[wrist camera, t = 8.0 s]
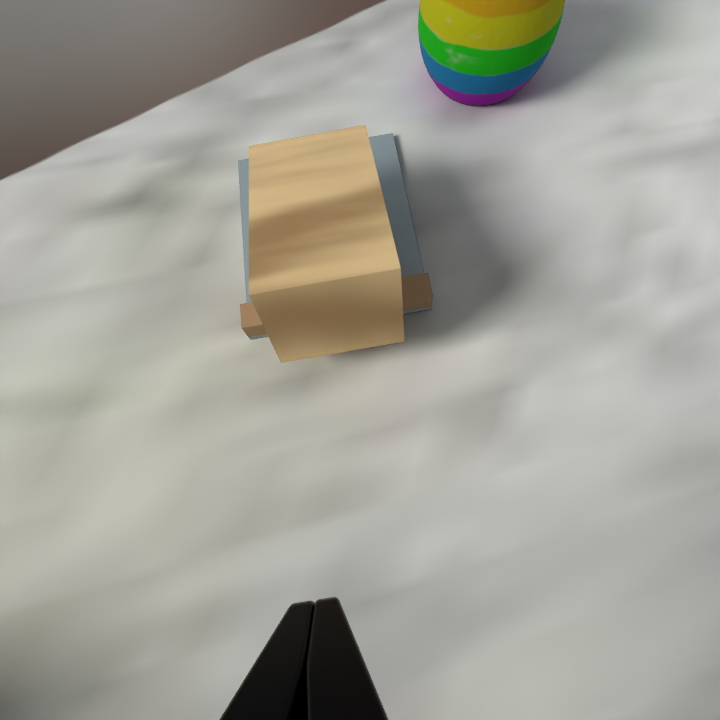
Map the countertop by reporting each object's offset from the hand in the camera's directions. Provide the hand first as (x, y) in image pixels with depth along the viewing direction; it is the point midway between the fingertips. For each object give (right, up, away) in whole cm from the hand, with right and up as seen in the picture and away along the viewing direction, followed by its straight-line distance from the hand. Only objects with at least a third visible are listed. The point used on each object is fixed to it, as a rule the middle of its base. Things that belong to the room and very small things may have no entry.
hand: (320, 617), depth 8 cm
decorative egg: (+9, +23, +23) cm, 34 cm away
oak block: (0, +6, +12) cm, 14 cm away
